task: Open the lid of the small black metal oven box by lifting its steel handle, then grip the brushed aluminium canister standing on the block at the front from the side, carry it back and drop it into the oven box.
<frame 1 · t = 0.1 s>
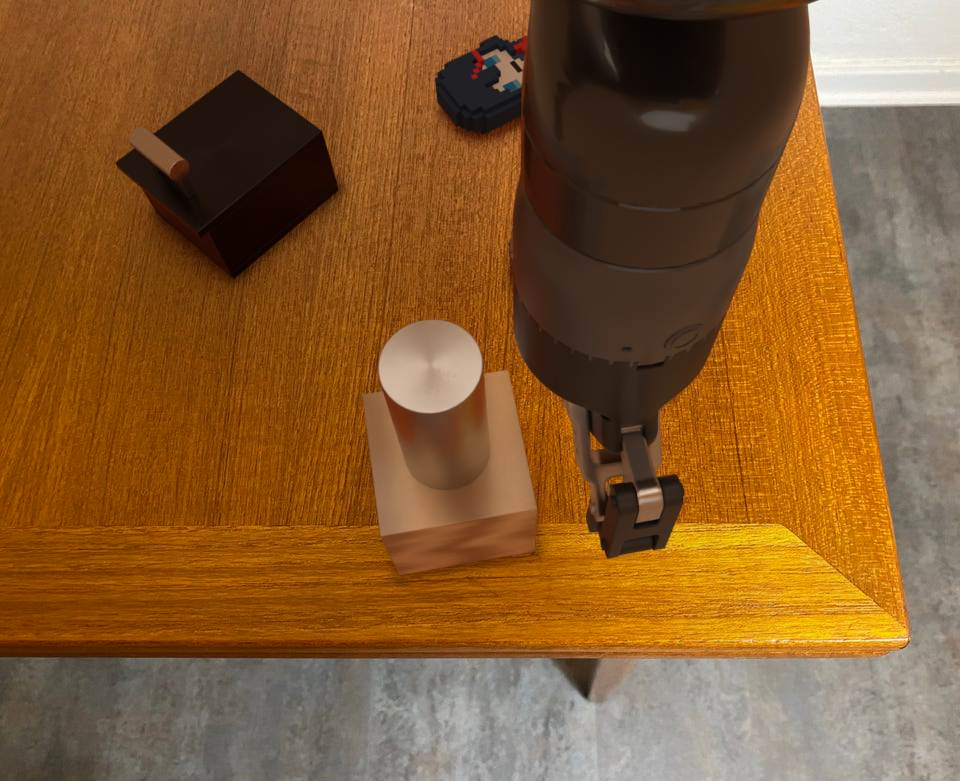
hand: (589, 442, 44), 22 cm above the table, tool pointing down, fingers open, 8 cm apart
oven lid: (212, 132, 70), point 9 cm above the table, hinge at 0.0°
canister: (446, 449, 57), point 10 cm above the table, touching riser
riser: (456, 498, 66), on the table
figurine: (516, 92, 84), on the table
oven: (248, 201, 79), on the table
stone: (551, 277, 75), on the table
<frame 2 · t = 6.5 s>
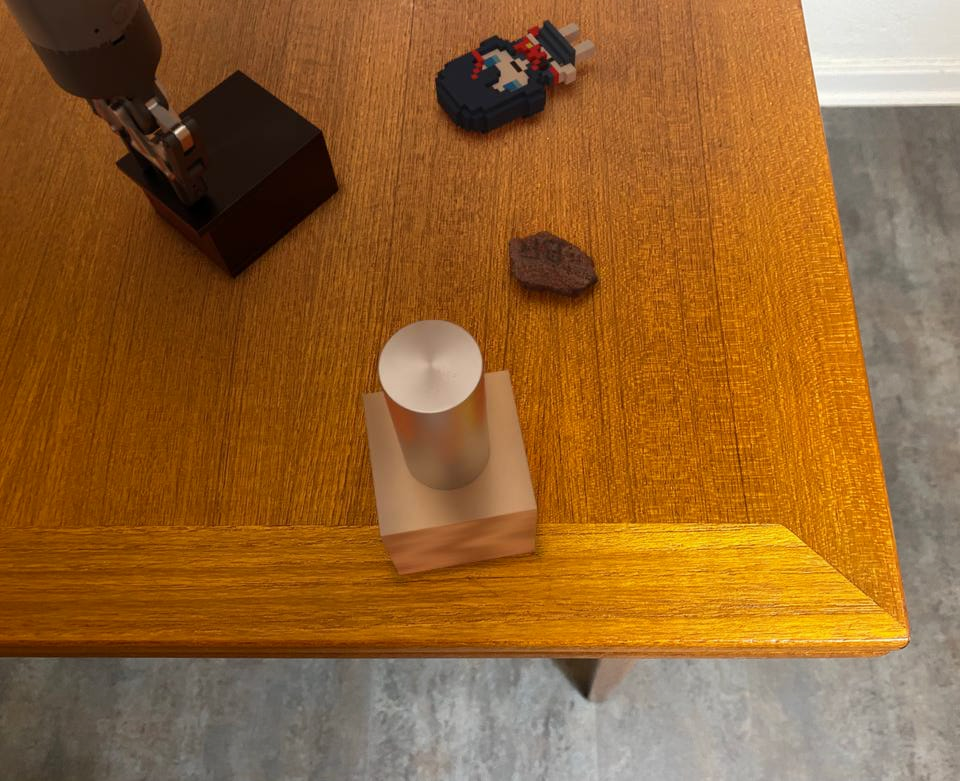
hand: (173, 178, 70), 8 cm above the table, tool pointing down, fingers closed on oven lid, 5 cm apart
oven lid: (212, 132, 70), point 9 cm above the table, hinge at 0.0°, touching gripper
everything else where it was.
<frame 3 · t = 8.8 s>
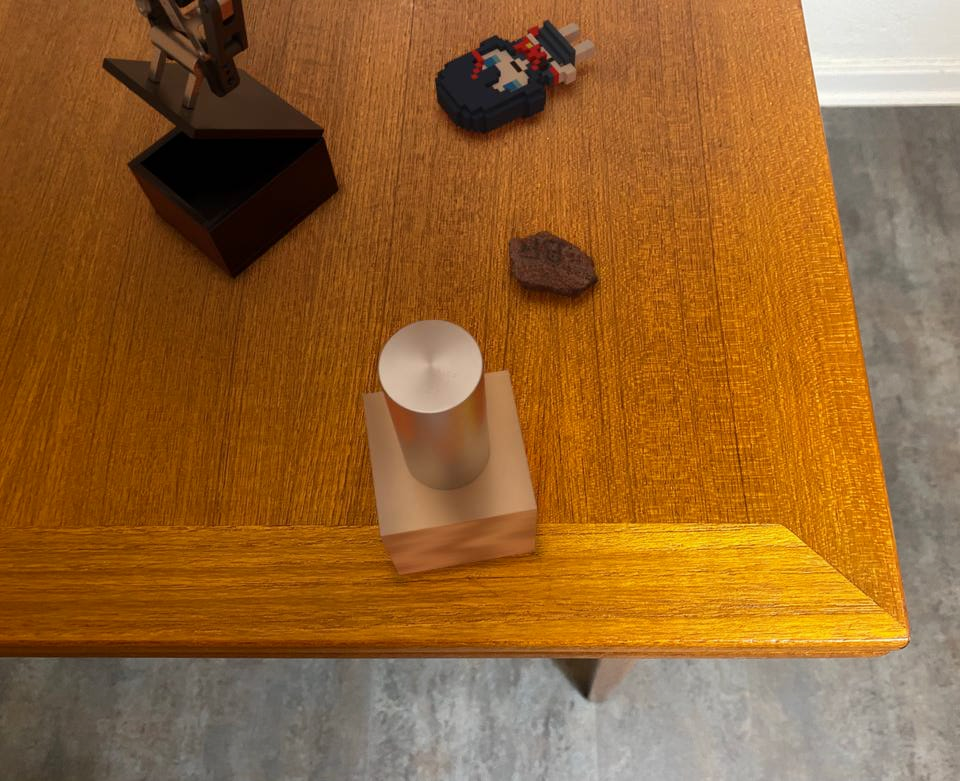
hand: (202, 70, 66), 15 cm above the table, tool pointing down, fingers closed on oven lid, 5 cm apart
oven lid: (226, 74, 68), point 13 cm above the table, hinge at 40.4°, touching gripper
everything else where it was.
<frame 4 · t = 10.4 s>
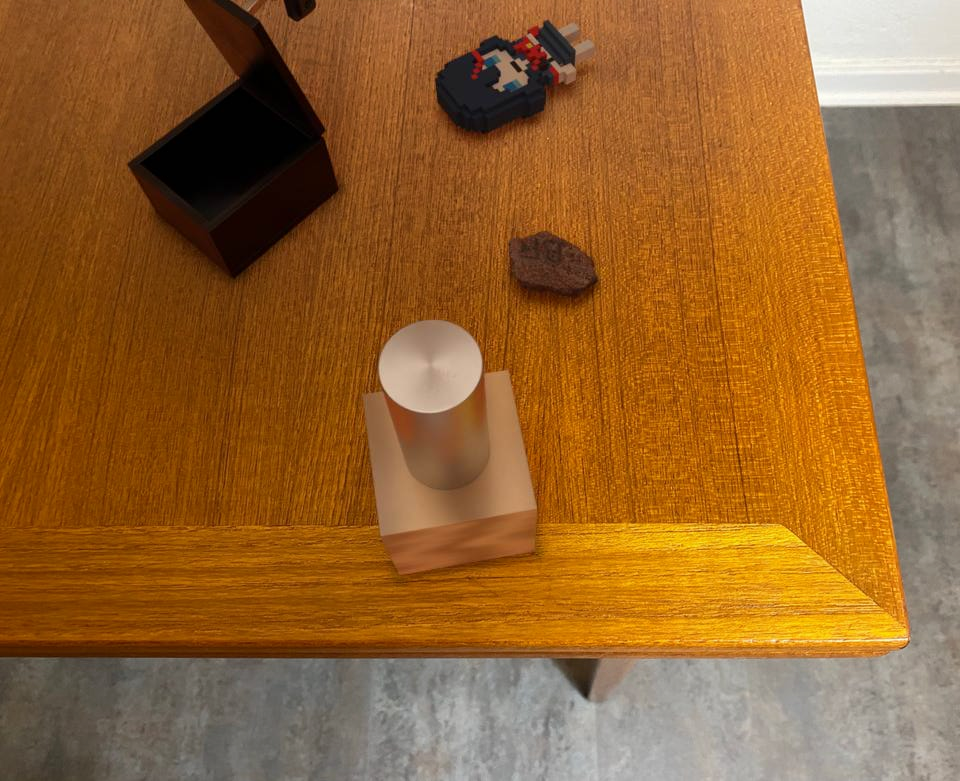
oven lid: (265, 31, 68), point 14 cm above the table, hinge at 78.1°, touching gripper
everything else where it was.
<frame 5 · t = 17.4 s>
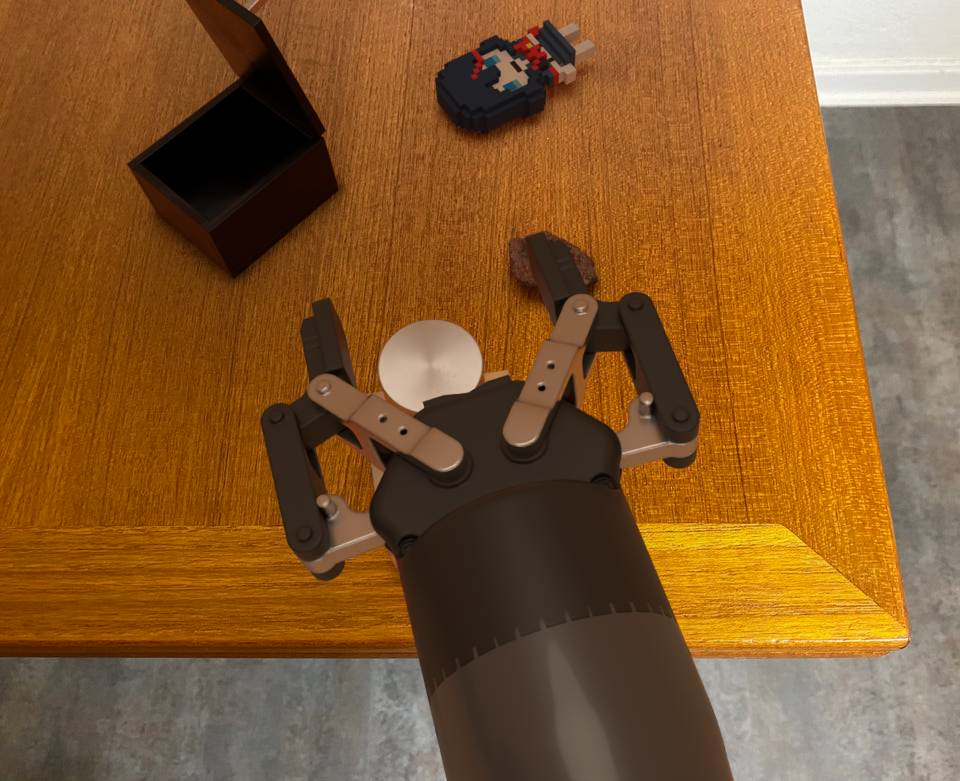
hand: (431, 280, 34), 34 cm above the table, tool horizontal, fingers open, 8 cm apart
oven lid: (266, 31, 68), point 14 cm above the table, hinge at 78.8°
everything else where it was.
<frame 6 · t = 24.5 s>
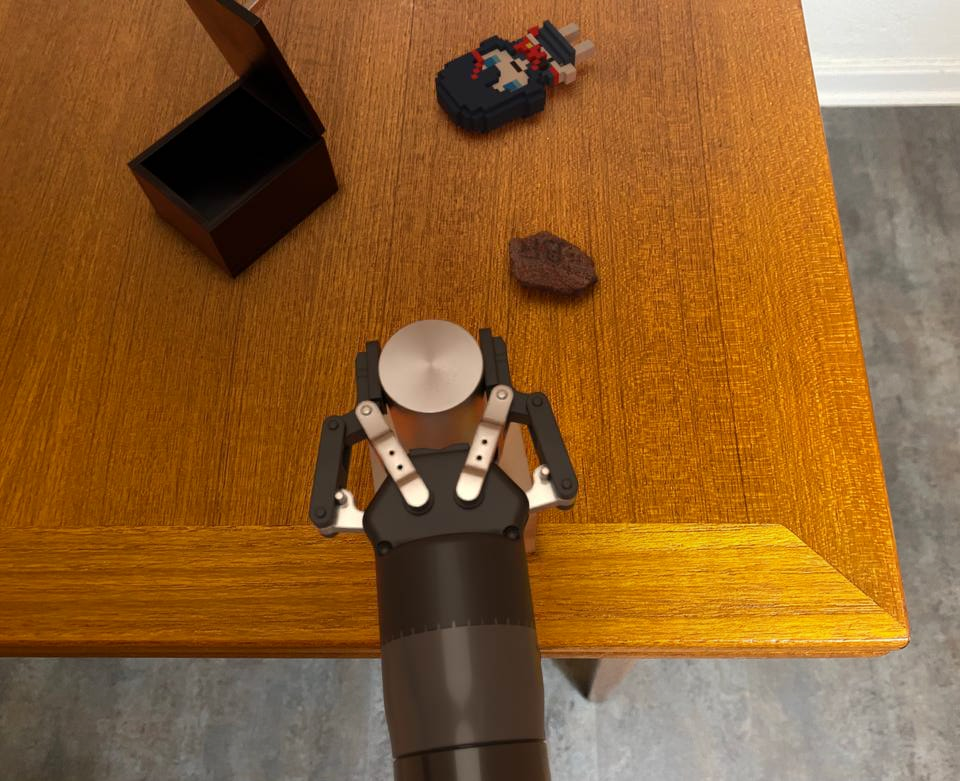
hand: (429, 342, 49), 20 cm above the table, tool horizontal, fingers closed on canister, 5 cm apart
canister: (446, 449, 57), point 10 cm above the table, touching gripper, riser
everything else where it was.
when the fingers open (15 cm above the table, at t = 37.1 s): canister drops 4 cm, resting on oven.
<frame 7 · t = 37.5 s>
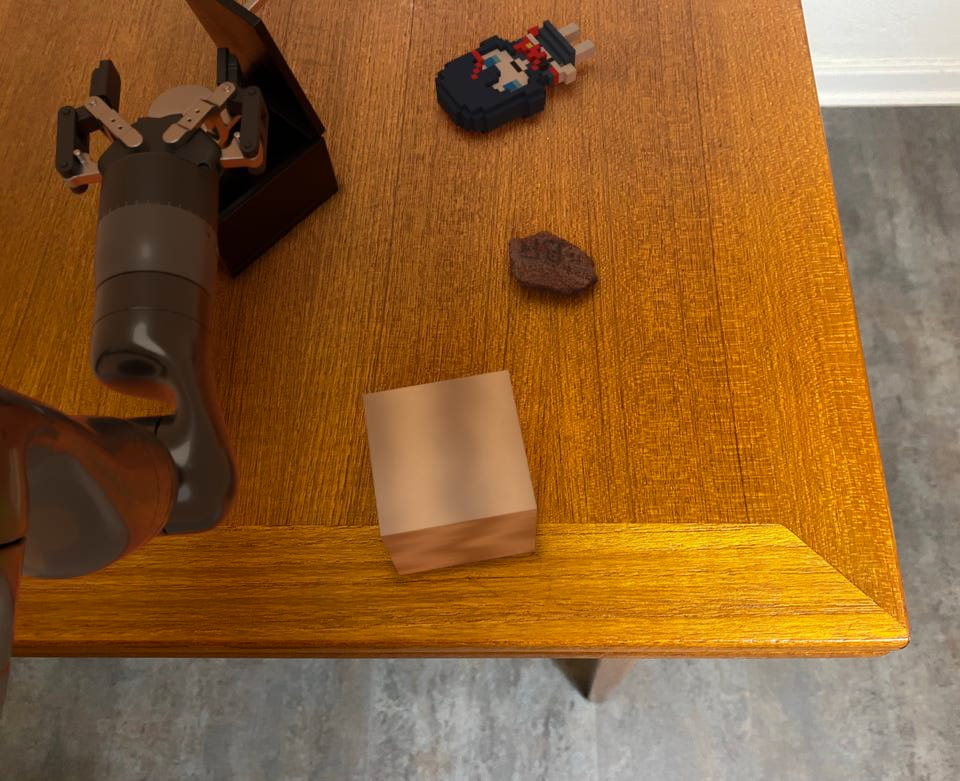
hand: (168, 62, 65), 16 cm above the table, tool horizontal, fingers open, 8 cm apart
canister: (229, 210, 78), point 1 cm above the table, touching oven
everything else where it was.
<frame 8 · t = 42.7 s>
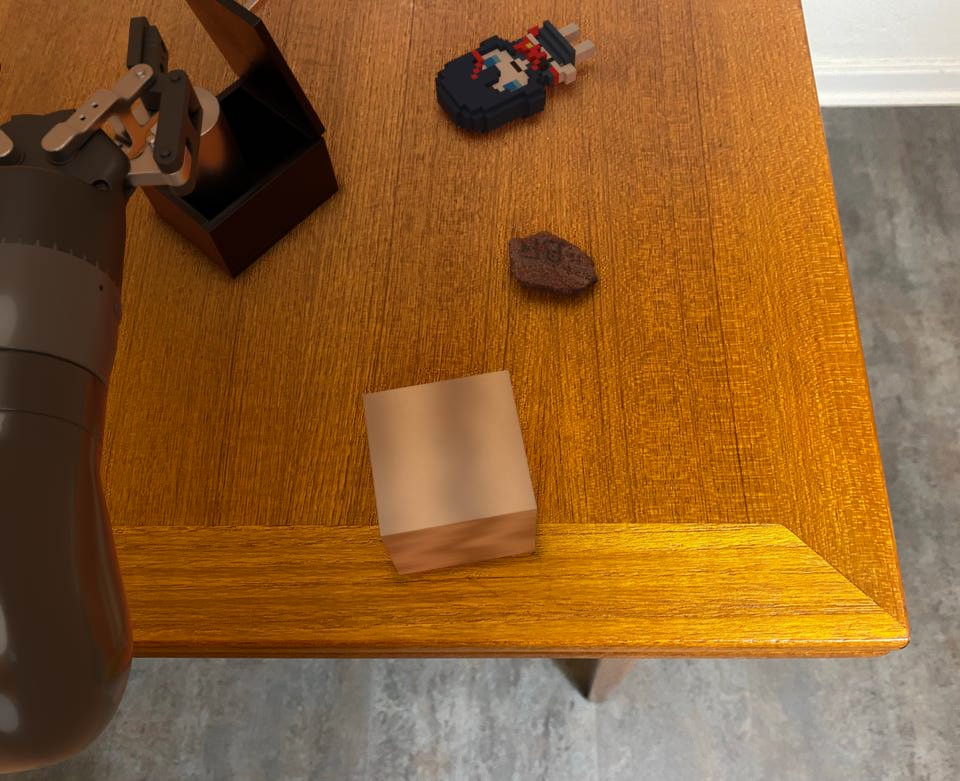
hand: (64, 38, 47), 30 cm above the table, tool horizontal, fingers open, 8 cm apart
nothing on the table moved.
at the end: oven lid at +79° (first picture: +0°); canister inside the target area in the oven (2.0 cm from its centre), point 0.8 cm above the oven's base; the gripper is holding nothing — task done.
